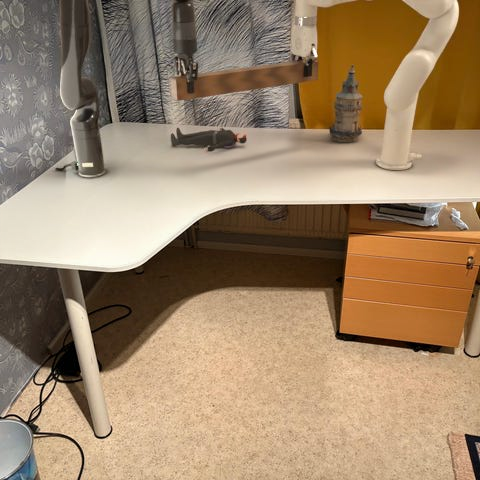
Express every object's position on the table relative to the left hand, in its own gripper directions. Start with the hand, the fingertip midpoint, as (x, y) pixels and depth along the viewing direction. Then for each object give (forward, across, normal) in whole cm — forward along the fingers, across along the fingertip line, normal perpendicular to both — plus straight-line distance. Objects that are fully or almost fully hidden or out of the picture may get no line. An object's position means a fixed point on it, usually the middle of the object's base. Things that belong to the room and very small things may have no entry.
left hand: (187, 91), depth 176 cm
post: (+2, 0, +23) cm, 23 cm away
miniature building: (+29, -2, +70) cm, 76 cm away
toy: (+29, -24, +19) cm, 43 cm away
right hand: (0, 0, +46) cm, 46 cm away
